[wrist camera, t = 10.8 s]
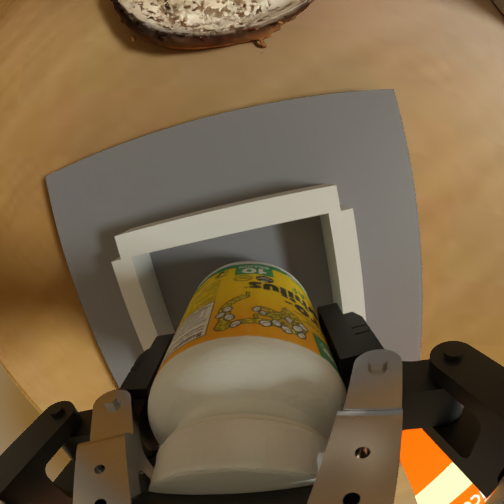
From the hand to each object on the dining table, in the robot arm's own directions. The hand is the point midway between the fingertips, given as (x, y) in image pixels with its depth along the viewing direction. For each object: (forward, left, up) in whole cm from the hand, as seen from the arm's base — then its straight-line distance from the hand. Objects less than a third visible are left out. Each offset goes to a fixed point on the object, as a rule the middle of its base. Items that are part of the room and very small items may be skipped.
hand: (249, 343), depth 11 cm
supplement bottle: (0, 0, -3) cm, 3 cm away
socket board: (0, 0, -5) cm, 5 cm away
